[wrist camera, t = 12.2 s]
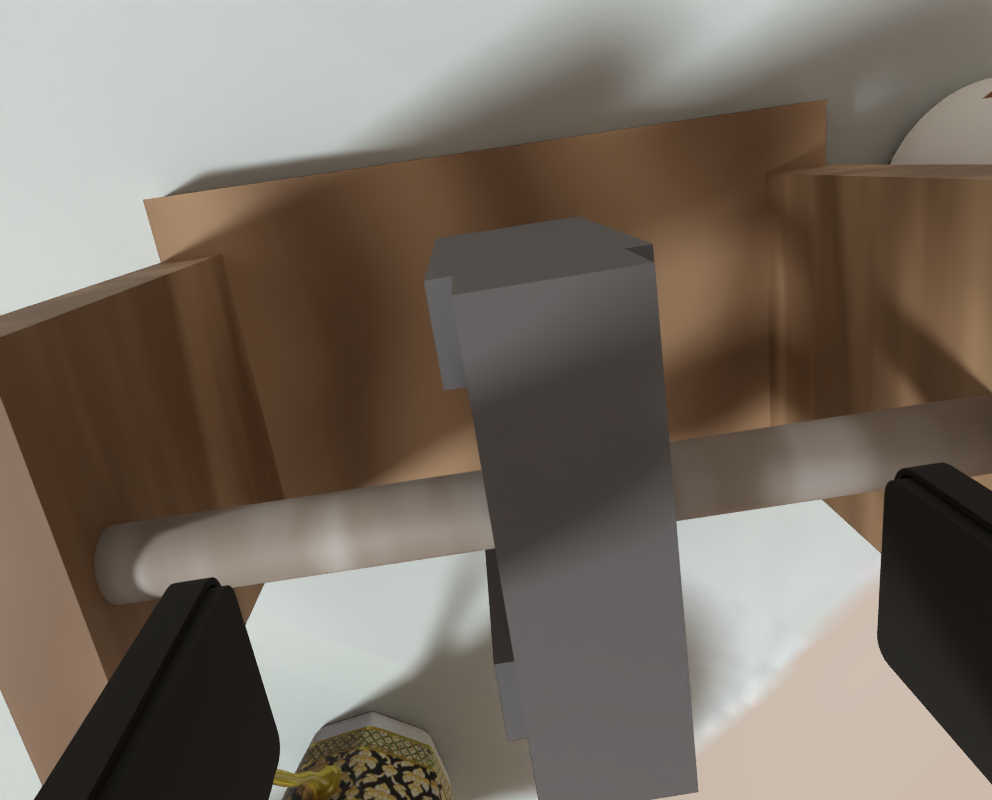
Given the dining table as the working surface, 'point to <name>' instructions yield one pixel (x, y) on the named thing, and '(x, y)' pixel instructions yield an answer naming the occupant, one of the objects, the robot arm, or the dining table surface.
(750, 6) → the dining table surface
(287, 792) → the ceramic cup
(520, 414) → the grey arch block
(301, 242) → the wooden rod bracket
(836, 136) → the dining table surface
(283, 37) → the dining table surface
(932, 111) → the milk bottle
